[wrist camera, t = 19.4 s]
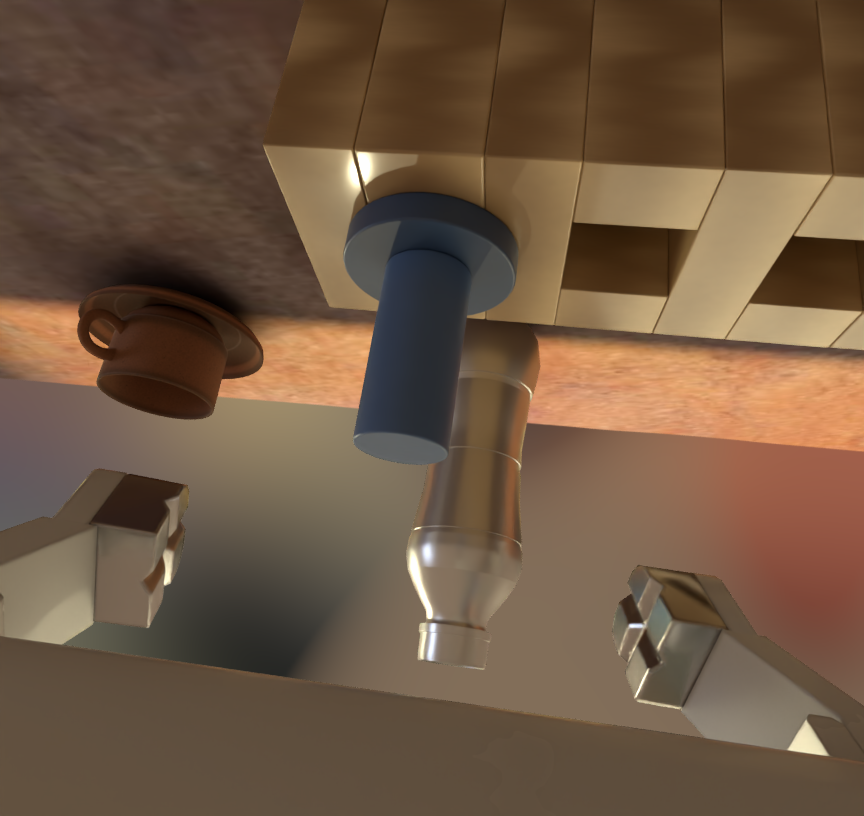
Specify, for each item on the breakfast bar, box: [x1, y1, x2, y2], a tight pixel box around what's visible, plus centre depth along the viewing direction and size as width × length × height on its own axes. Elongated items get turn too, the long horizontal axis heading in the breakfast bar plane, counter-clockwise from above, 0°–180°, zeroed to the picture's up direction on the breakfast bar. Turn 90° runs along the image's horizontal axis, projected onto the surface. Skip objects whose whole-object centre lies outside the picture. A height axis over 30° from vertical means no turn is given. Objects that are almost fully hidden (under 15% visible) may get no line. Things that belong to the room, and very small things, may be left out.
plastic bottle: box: [406, 318, 540, 669], centre depth 39 cm, size 6×7×20 cm
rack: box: [263, 0, 864, 350], centre depth 23 cm, size 21×9×8 cm, turn 94°
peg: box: [343, 192, 519, 465], centre depth 23 cm, size 6×6×13 cm
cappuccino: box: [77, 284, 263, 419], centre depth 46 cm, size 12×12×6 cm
